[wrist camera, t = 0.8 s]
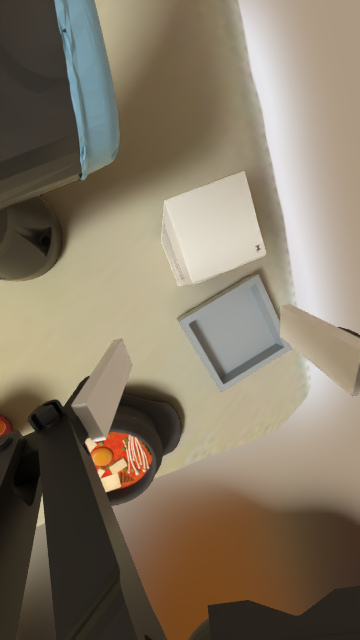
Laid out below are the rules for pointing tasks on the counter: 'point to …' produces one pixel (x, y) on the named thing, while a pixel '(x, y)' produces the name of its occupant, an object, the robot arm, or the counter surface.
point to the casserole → (134, 446)
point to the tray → (235, 332)
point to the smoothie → (4, 426)
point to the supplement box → (211, 230)
